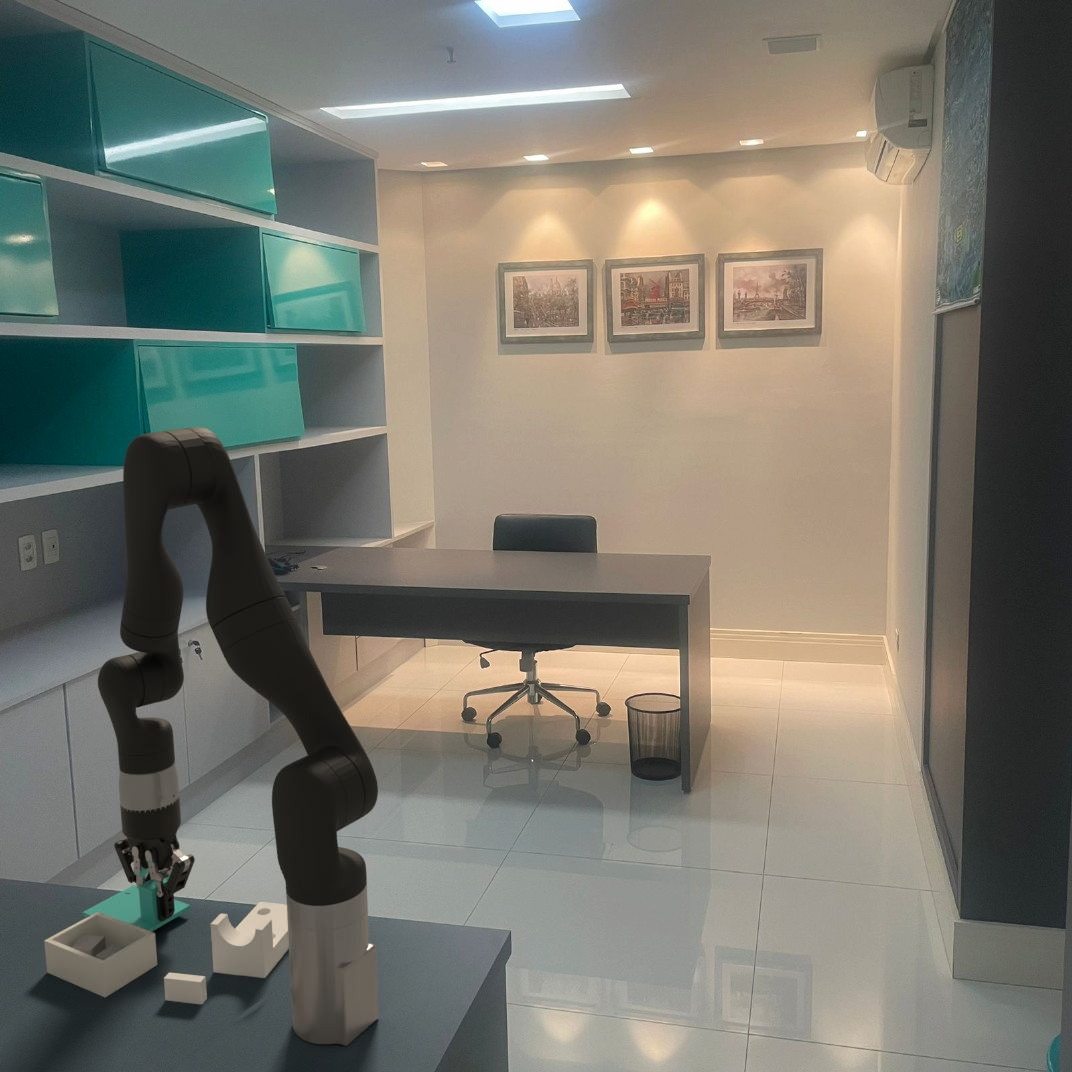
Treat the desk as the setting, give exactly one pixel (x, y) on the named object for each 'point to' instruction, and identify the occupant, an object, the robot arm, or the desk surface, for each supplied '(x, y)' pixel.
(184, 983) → the eraser
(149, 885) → the lid
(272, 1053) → the desk surface
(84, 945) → the block
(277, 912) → the bracket
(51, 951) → the tub
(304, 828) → the robot arm
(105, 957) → the block
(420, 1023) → the desk surface
